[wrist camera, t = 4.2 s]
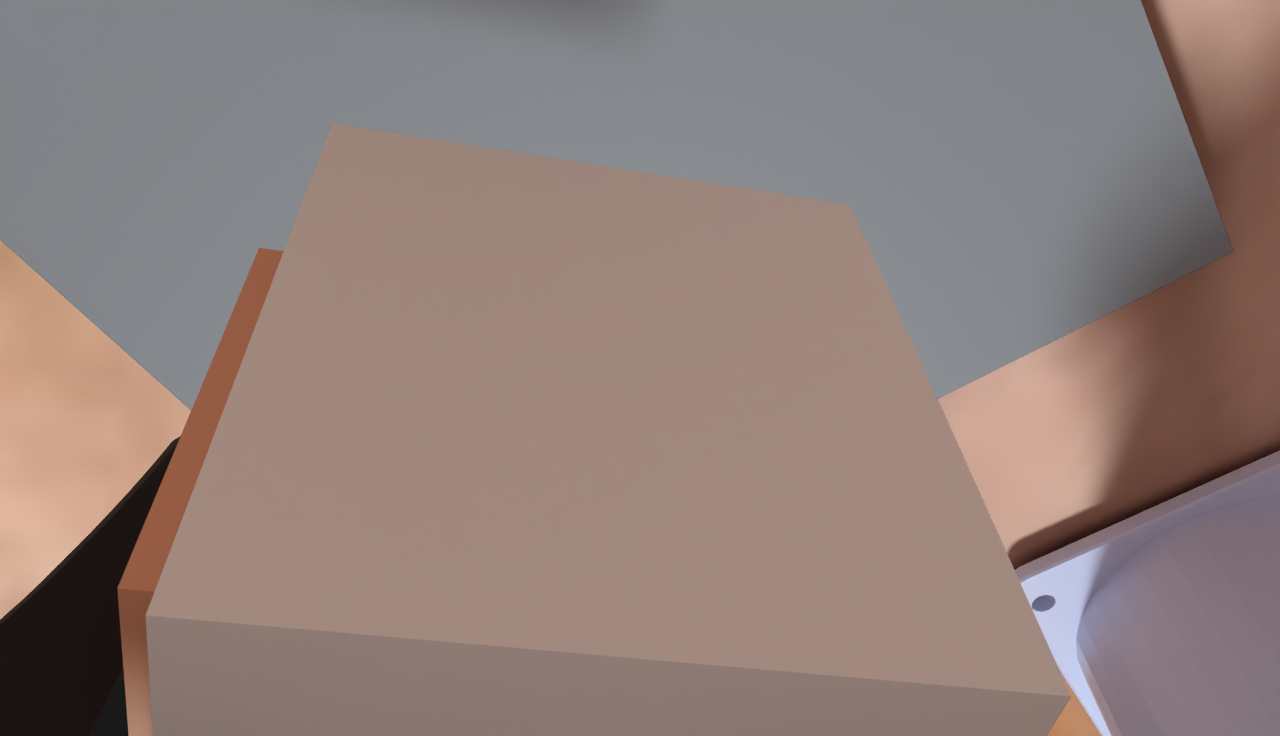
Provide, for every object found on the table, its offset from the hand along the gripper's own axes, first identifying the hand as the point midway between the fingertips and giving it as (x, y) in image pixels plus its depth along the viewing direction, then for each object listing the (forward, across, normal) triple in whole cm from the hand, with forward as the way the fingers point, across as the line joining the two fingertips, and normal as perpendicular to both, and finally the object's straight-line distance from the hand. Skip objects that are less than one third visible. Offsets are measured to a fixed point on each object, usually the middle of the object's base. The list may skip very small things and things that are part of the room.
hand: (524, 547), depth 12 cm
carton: (+2, 0, 0) cm, 2 cm away
